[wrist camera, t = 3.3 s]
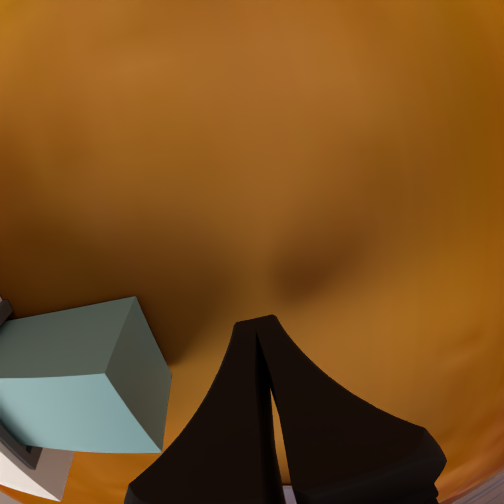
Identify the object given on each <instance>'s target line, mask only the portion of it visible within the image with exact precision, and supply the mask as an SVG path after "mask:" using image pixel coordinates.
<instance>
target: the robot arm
mask: <svg viewBox="0 0 504 504" xmlns="http://www.w3.org/2000/svg"><path fill="white" fill-rule="evenodd" d="M270 388H271V391H272V395H273V398H274V401H275V404H276V407H277V411H278V414H279V418H280V423H281V428H282V434H283V440H284V445H285V451H286V457H287V462H288V468H289V474H290V480H291V486H282V481H281V475H280V470H279V465H278V460H277V455H276V448H275V440H274V427H273V415H272V402H271V391H270ZM446 462H447V460H446V457H445V455H444V453H443V451H442V449H441V448H440V446H439V445H438V443H437V442H436V441H435V439H434V438H433V437H432V436H431V435H430V433H429V432H428V431H427V430H426V429H425V428H423V427H421V426H418V425H415V424H412V423H410V422H407V421H405V420H402V419H400V418H397V417H395V416H393V415H391V414H389V413H387V412H384V411H382V410H380V409H378V408H376V407H375V406H373V405H371V404H369V403H368V402H366V401H364V400H363V399H361V398H359V397H357V396H356V395H354V394H352V393H351V392H349V391H348V390H347V389H345V388H344V387H342V386H341V385H339V384H338V383H337V382H335V381H334V380H333V379H332V378H330V377H329V376H328V375H327V374H325V373H324V372H323V371H322V370H321V369H320V368H319V367H317V366H316V365H315V364H314V363H313V362H312V361H311V360H310V359H309V358H308V357H307V356H306V355H305V354H304V353H303V352H302V351H301V350H300V348H299V347H298V346H297V345H296V344H295V343H294V342H293V340H292V339H291V338H290V337H289V335H288V334H287V333H286V332H285V330H284V329H283V327H282V326H281V324H280V322H279V321H278V319H277V317H276V316H275V315H268V316H263V317H259V318H254V319H250V320H245V321H240V322H236V323H235V325H234V327H233V332H232V336H231V339H230V342H229V345H228V348H227V351H226V354H225V356H224V359H223V361H222V364H221V366H220V369H219V371H218V373H217V375H216V377H215V379H214V381H213V383H212V385H211V387H210V389H209V391H208V393H207V395H206V397H205V398H204V400H203V402H202V403H201V405H200V406H199V408H198V410H197V411H196V413H195V414H194V416H193V417H192V418H191V420H190V421H189V423H188V424H187V425H186V427H185V428H184V429H183V431H182V432H181V433H180V435H179V436H178V437H177V438H176V439H175V440H174V441H173V443H172V444H171V445H170V446H169V447H168V448H167V449H166V450H165V451H164V453H163V454H162V455H161V456H160V457H159V458H158V459H157V460H156V461H155V462H154V463H153V464H152V465H151V466H149V467H148V468H147V469H146V470H145V471H144V472H143V473H142V474H140V475H139V476H138V477H137V478H136V479H135V480H133V481H132V482H131V483H130V484H129V485H128V490H127V493H126V496H125V500H124V504H439V503H438V501H437V499H436V497H437V496H438V491H437V489H436V487H435V484H434V483H435V481H436V480H437V478H438V477H439V475H440V474H441V472H442V471H443V469H444V467H445V465H446ZM451 504H504V472H502V473H500V474H499V475H497V476H496V477H494V478H493V479H491V480H490V481H488V482H487V483H485V484H484V485H482V486H480V487H479V488H477V489H476V490H474V491H472V492H471V493H469V494H467V495H466V496H464V497H462V498H460V499H458V500H457V501H455V502H453V503H451Z"/></svg>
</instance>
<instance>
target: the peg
mask: <svg viewBox="0 0 504 504" xmlns="http://www.w3.org/2000/svg"><path fill="white" fill-rule="evenodd" d="M171 378H172V373H171V371H170V370H169V368H168V366H167V364H166V362H165V360H164V357H163V355H162V353H161V351H160V349H159V347H158V345H157V343H156V341H155V339H154V337H153V334H152V332H151V330H150V328H149V326H148V323H147V321H146V319H145V317H144V314H143V312H142V310H141V307H140V305H139V303H138V300H137V298H136V296H133V297H128V298H123V299H118V300H113V301H108V302H103V303H98V304H93V305H88V306H83V307H78V308H73V309H68V310H62V311H57V312H52V313H47V314H41V315H36V316H31V317H25V318H20V319H14V320H9V321H4V322H3V323H2V324H1V326H0V424H1V425H2V426H3V427H4V428H5V429H6V431H7V432H8V433H9V434H10V435H11V436H12V437H13V438H14V439H15V440H16V441H17V442H18V443H19V444H24V445H30V446H37V447H44V448H51V449H60V450H70V451H83V452H100V453H160V452H162V448H163V439H164V431H165V422H166V414H167V407H168V399H169V392H170V385H171Z"/></svg>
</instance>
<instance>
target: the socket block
mask: <svg viewBox="0 0 504 504" xmlns="http://www.w3.org/2000/svg"><path fill="white" fill-rule="evenodd" d="M12 311H13V309H12V307H11V306H10V304H9V302H8V300H7V299H6V300H2V299H1V297H0V326H1V324H2V323H3V322H4V321H5V320H6V318H7V317H8V316H9V315H10V314H11V313H12ZM74 452H75V451H70V450H60V449H51V448H44V447H37V446H30V445H24V444H19V443H18V442H17V441H16V440H15V439H14V438H13V437H12V436H11V435H10V434H9V433H8V432H7V431H6V429H5V428H4V427H3V426H2V425H1V424H0V484H1V485H4V486H7V487H10V488H13V489H16V490H19V491H22V492H26V493H29V494H32V495H36V496H40V497H44V498H48V499H52V500H56V501H62V496H63V492H64V488H65V485H66V481H67V477H68V473H69V470H70V466H71V463H72V459H73V456H74Z"/></svg>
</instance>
